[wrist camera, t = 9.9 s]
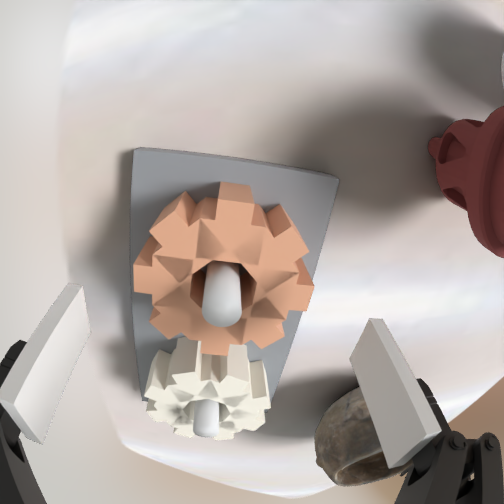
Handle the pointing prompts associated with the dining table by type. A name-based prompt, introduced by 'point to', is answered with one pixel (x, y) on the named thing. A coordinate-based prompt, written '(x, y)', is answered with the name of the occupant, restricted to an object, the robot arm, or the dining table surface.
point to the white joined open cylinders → (502, 69)
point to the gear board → (206, 183)
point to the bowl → (351, 444)
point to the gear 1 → (230, 250)
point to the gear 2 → (207, 388)
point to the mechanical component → (475, 174)
